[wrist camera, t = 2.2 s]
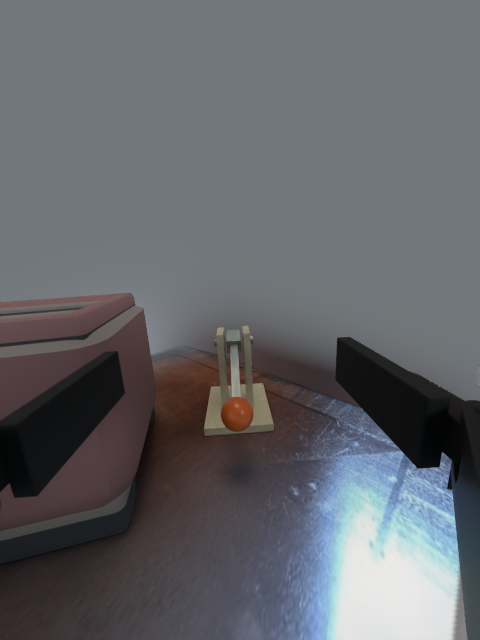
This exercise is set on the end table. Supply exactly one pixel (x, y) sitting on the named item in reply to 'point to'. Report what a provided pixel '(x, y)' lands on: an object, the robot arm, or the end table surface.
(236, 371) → the lever
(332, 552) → the end table surface
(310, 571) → the end table surface
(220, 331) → the bracket
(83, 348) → the toaster
